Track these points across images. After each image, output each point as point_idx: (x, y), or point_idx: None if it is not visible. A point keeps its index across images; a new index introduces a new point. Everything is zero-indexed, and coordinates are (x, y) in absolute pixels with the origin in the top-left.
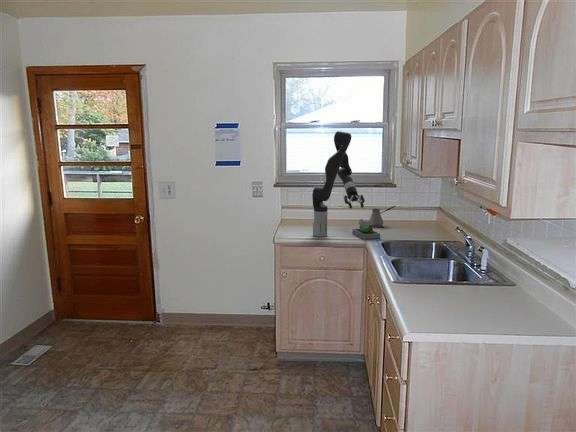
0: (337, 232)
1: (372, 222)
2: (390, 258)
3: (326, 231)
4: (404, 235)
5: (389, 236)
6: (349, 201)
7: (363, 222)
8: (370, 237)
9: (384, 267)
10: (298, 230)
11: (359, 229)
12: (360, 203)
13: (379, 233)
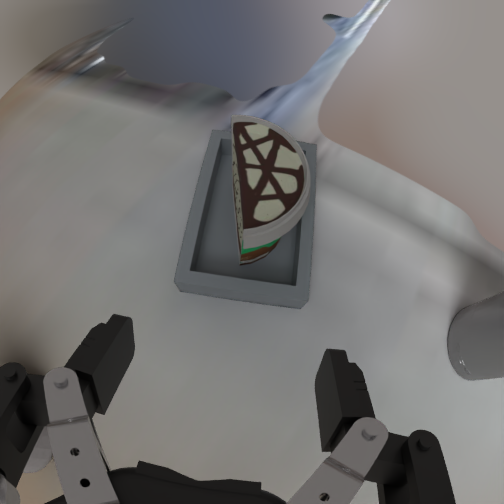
0: (367, 389)
1: (239, 117)
2: (331, 23)
3: (473, 307)
4: (66, 160)
5: (136, 166)
6: (371, 442)
7: (298, 148)
8: None
9: (369, 14)
10: (501, 476)
11: (255, 281)
12: (100, 401)
13: (216, 131)
